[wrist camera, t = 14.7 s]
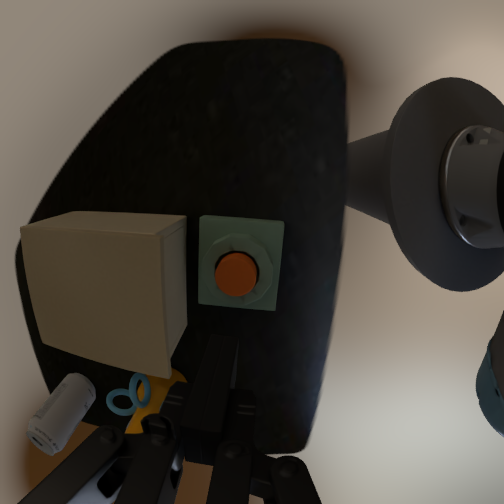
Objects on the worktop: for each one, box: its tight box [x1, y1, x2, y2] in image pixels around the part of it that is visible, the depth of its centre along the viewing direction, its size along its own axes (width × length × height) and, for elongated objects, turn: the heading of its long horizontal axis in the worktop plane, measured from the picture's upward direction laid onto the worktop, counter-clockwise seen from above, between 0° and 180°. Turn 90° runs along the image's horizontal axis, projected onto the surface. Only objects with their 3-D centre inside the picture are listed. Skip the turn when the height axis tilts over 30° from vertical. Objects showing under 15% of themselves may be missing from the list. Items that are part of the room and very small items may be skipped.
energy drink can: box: [26, 373, 96, 456], centre depth 29 cm, size 6×6×15 cm
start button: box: [215, 253, 257, 296], centre depth 25 cm, size 4×4×2 cm
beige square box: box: [26, 211, 187, 358], centre depth 26 cm, size 15×13×9 cm
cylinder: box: [106, 368, 187, 434], centre depth 27 cm, size 12×10×15 cm
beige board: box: [20, 226, 172, 379], centre depth 21 cm, size 15×13×1 cm
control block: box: [198, 215, 284, 311], centre depth 27 cm, size 8×9×4 cm
